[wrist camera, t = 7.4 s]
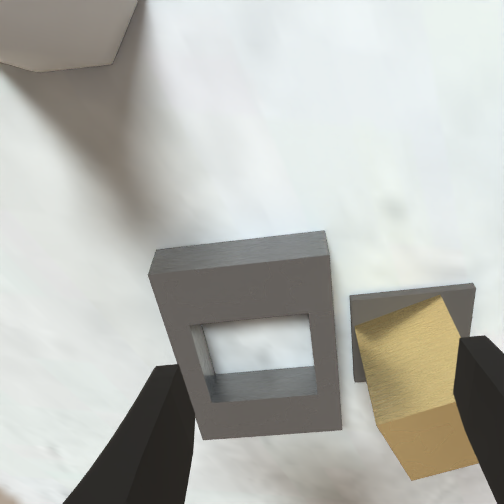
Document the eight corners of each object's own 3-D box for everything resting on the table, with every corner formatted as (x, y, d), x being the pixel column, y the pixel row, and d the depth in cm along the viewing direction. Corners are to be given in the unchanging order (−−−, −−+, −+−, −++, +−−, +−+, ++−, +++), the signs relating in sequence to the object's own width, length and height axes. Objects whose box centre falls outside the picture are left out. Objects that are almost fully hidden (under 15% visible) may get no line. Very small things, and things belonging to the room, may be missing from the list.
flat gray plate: (472, 283, 24) (475, 288, 23) (461, 367, 27) (464, 373, 27) (349, 295, 24) (351, 300, 24) (353, 376, 28) (354, 382, 27)
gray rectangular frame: (324, 230, 22) (329, 254, 21) (337, 401, 29) (342, 430, 27) (156, 249, 23) (147, 274, 21) (206, 411, 30) (202, 440, 28)
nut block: (440, 294, 24) (487, 392, 19) (464, 352, 26) (513, 454, 21) (354, 326, 25) (376, 425, 20) (384, 379, 27) (411, 480, 22)
